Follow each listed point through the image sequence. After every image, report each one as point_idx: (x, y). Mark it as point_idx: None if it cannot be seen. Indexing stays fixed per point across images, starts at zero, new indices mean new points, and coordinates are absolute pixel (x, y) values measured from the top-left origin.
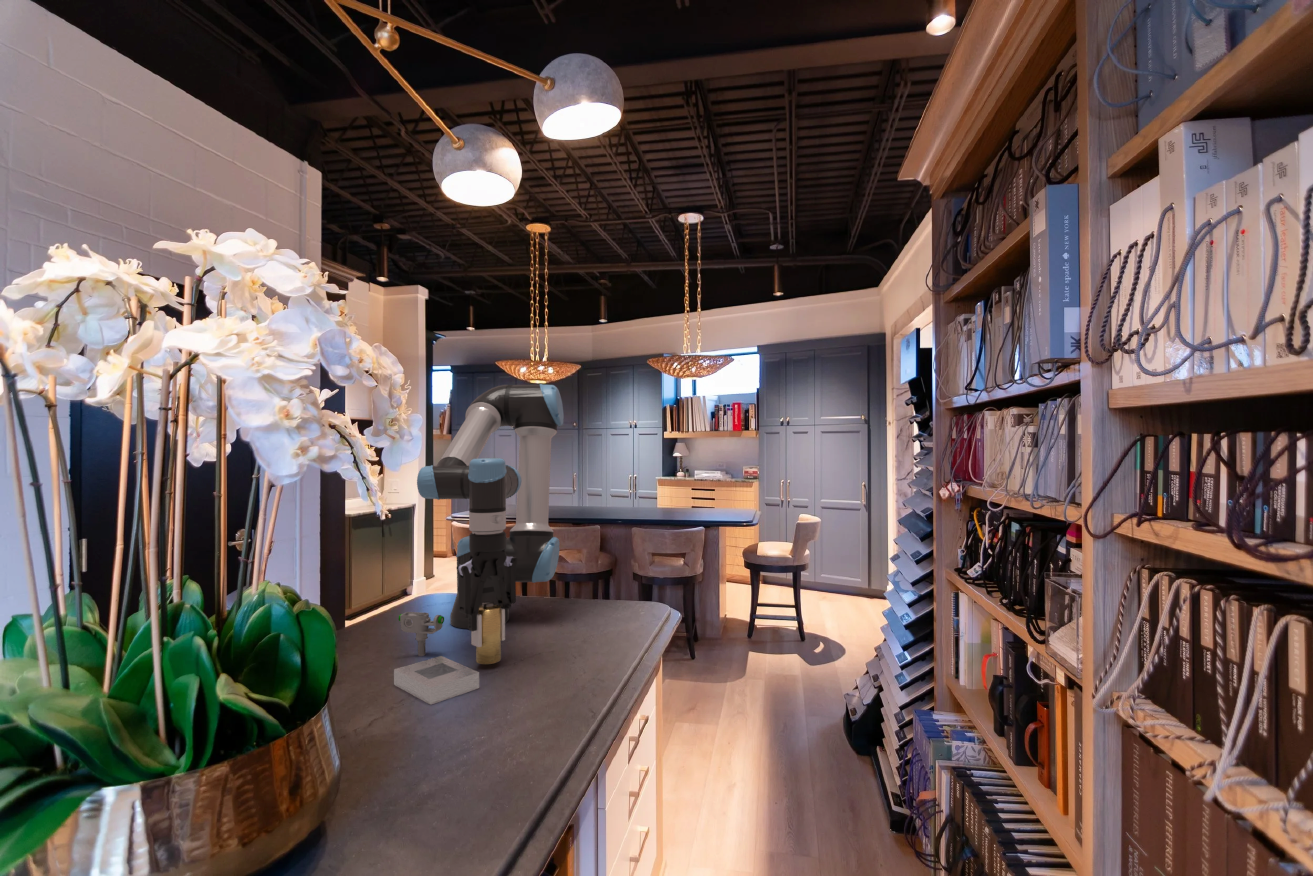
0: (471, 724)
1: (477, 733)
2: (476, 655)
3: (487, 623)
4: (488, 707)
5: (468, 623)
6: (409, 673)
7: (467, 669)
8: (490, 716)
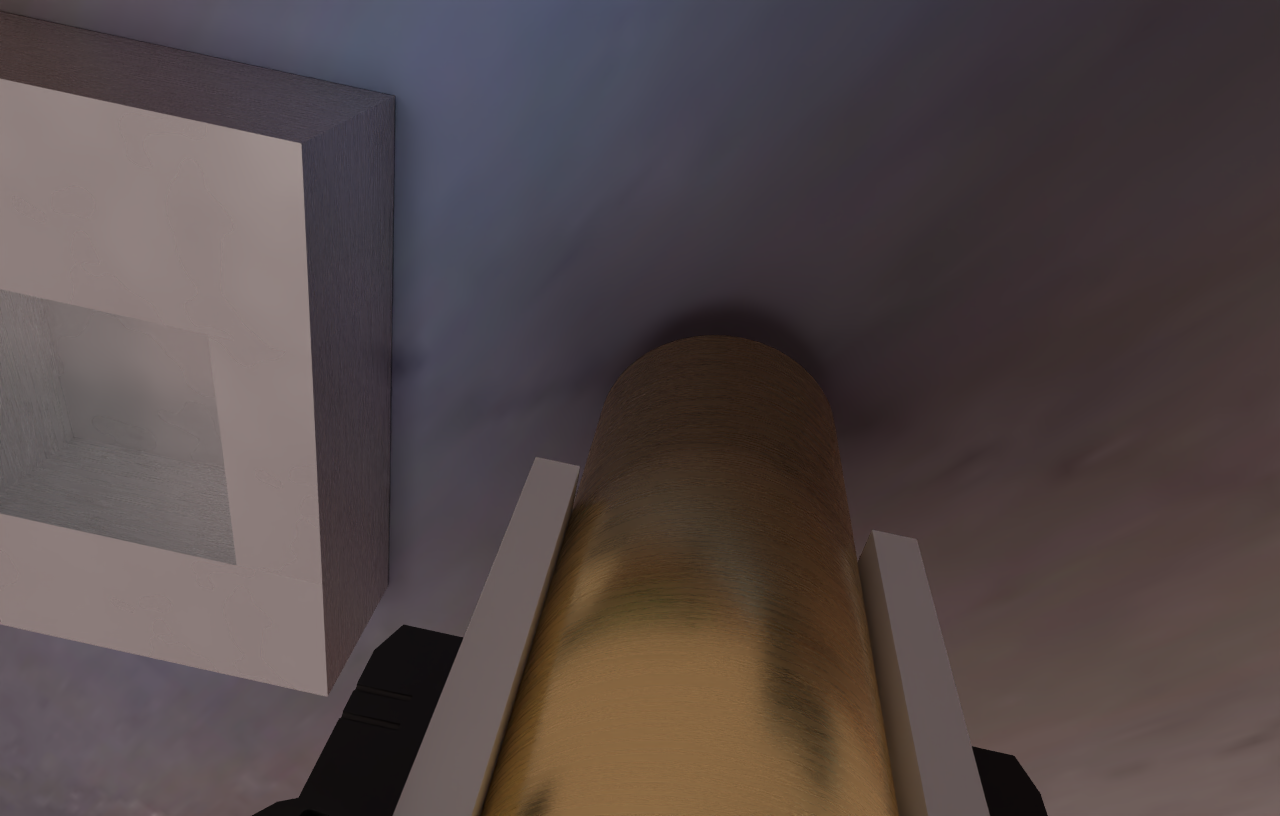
0: (167, 740)
1: (151, 791)
2: (606, 415)
3: None
4: (318, 710)
5: (341, 721)
6: None
7: (297, 607)
8: (271, 760)
